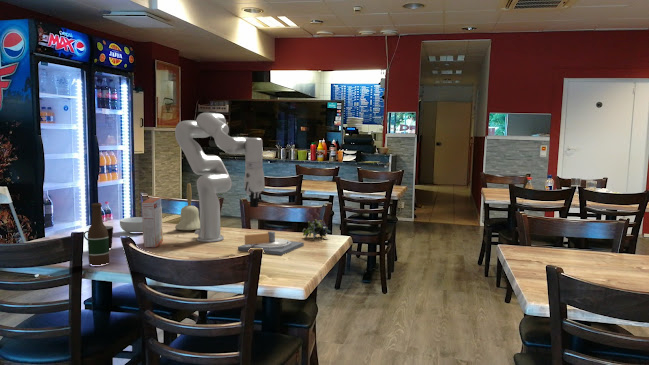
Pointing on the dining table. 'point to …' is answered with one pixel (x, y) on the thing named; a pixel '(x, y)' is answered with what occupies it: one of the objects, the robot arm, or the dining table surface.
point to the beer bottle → (98, 238)
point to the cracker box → (152, 222)
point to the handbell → (189, 214)
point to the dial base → (274, 247)
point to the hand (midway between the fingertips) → (254, 206)
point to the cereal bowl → (132, 224)
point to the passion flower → (316, 228)
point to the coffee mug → (110, 234)
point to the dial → (264, 239)
